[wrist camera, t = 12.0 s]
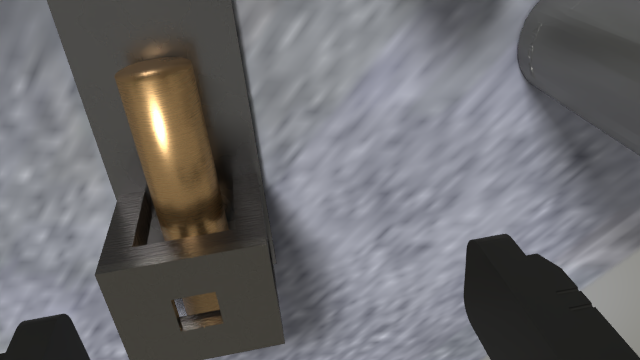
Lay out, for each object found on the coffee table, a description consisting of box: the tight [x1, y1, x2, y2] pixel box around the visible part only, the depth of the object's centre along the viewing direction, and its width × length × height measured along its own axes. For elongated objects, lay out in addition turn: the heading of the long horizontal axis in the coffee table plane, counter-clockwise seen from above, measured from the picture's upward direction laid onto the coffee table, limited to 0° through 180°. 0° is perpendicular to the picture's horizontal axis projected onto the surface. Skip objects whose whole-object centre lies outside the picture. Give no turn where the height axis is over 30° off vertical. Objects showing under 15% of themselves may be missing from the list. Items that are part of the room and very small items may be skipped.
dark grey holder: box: [47, 0, 285, 360], centre depth 34 cm, size 34×12×10 cm, turn 6°
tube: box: [115, 57, 229, 316], centre depth 40 cm, size 22×5×5 cm, turn 6°
